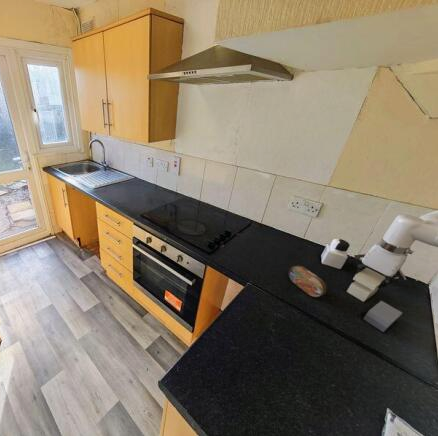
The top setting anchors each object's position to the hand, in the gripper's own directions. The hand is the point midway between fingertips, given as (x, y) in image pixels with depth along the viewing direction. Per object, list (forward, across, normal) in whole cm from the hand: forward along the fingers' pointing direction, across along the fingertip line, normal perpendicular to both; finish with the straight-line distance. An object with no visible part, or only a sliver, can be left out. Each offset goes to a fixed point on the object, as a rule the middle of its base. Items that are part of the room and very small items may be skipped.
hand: (368, 280), depth 94 cm
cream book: (0, 0, 0) cm, 0 cm away
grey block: (+7, -10, +10) cm, 16 cm away
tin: (+7, +13, +20) cm, 25 cm away
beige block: (+7, 0, 0) cm, 7 cm away
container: (+7, +17, -10) cm, 21 cm away
